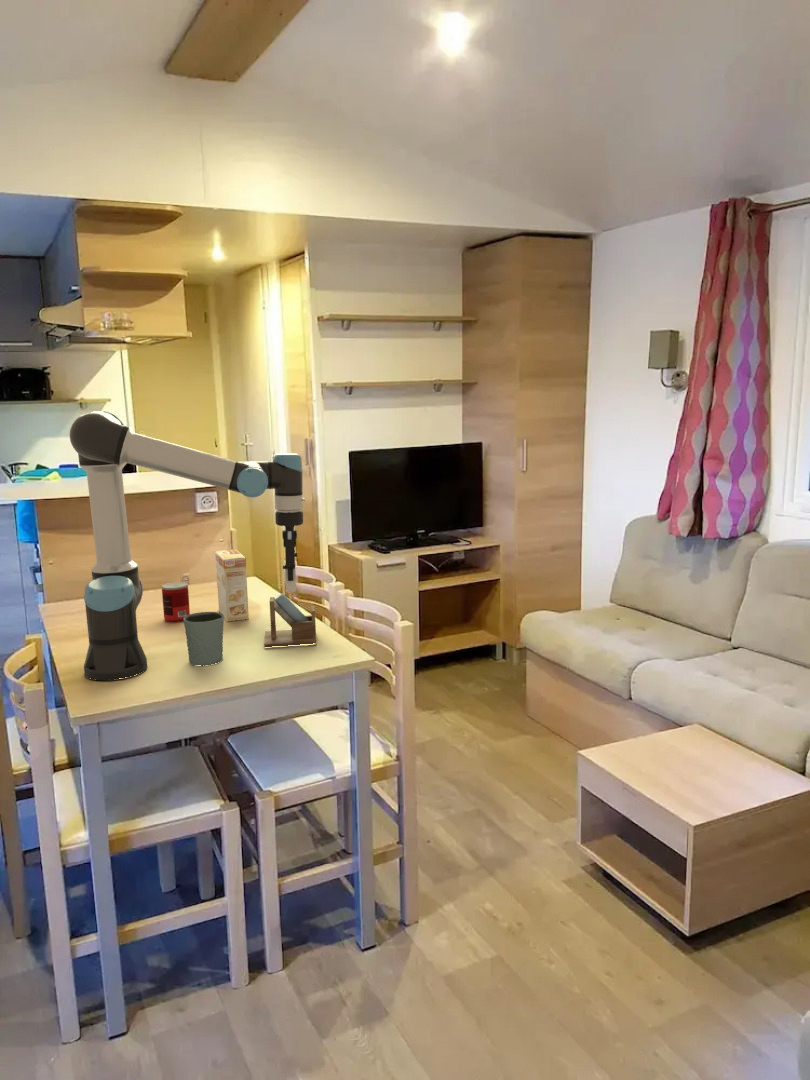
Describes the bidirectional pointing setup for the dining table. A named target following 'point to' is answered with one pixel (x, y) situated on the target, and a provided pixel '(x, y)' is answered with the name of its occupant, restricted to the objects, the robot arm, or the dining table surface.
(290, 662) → the dining table surface
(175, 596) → the canned food
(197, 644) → the grey-green cup
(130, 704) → the dining table surface
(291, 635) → the socket cradle
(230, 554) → the coffeecake box
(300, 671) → the dining table surface
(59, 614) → the dining table surface
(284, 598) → the peg
